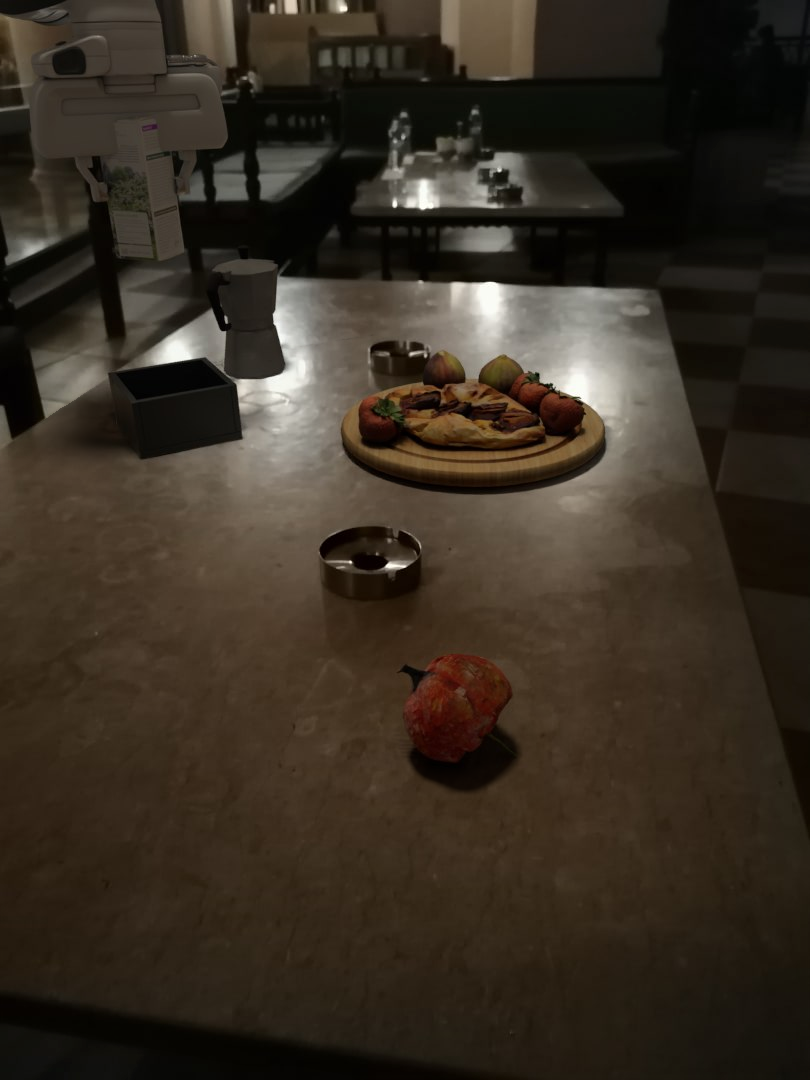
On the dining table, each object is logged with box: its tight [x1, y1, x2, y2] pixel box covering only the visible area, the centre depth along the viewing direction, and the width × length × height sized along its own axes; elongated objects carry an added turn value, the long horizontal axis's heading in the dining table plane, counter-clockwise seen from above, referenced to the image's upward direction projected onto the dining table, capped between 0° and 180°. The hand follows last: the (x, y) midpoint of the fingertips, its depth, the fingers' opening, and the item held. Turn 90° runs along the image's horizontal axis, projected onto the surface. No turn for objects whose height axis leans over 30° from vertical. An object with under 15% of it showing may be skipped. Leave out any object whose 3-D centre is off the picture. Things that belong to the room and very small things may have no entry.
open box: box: [107, 356, 243, 460], centre depth 113 cm, size 13×13×7 cm
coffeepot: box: [205, 244, 286, 380], centre depth 130 cm, size 15×9×18 cm, turn 153°
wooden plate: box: [340, 349, 606, 488], centre depth 109 cm, size 32×32×8 cm
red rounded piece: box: [396, 653, 518, 764], centre depth 61 cm, size 7×7×10 cm
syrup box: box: [99, 116, 185, 262], centre depth 100 cm, size 6×6×14 cm
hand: (142, 197), depth 100 cm, fingers closed on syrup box, 7 cm apart
